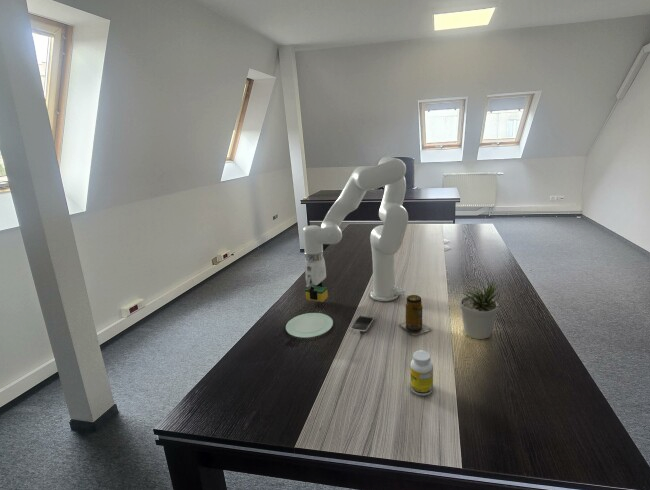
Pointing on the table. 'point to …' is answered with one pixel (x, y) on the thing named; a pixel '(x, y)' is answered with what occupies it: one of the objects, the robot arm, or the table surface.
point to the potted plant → (479, 312)
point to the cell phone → (362, 323)
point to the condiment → (414, 316)
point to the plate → (309, 325)
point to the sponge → (318, 293)
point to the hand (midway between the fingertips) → (317, 295)
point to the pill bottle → (421, 373)
